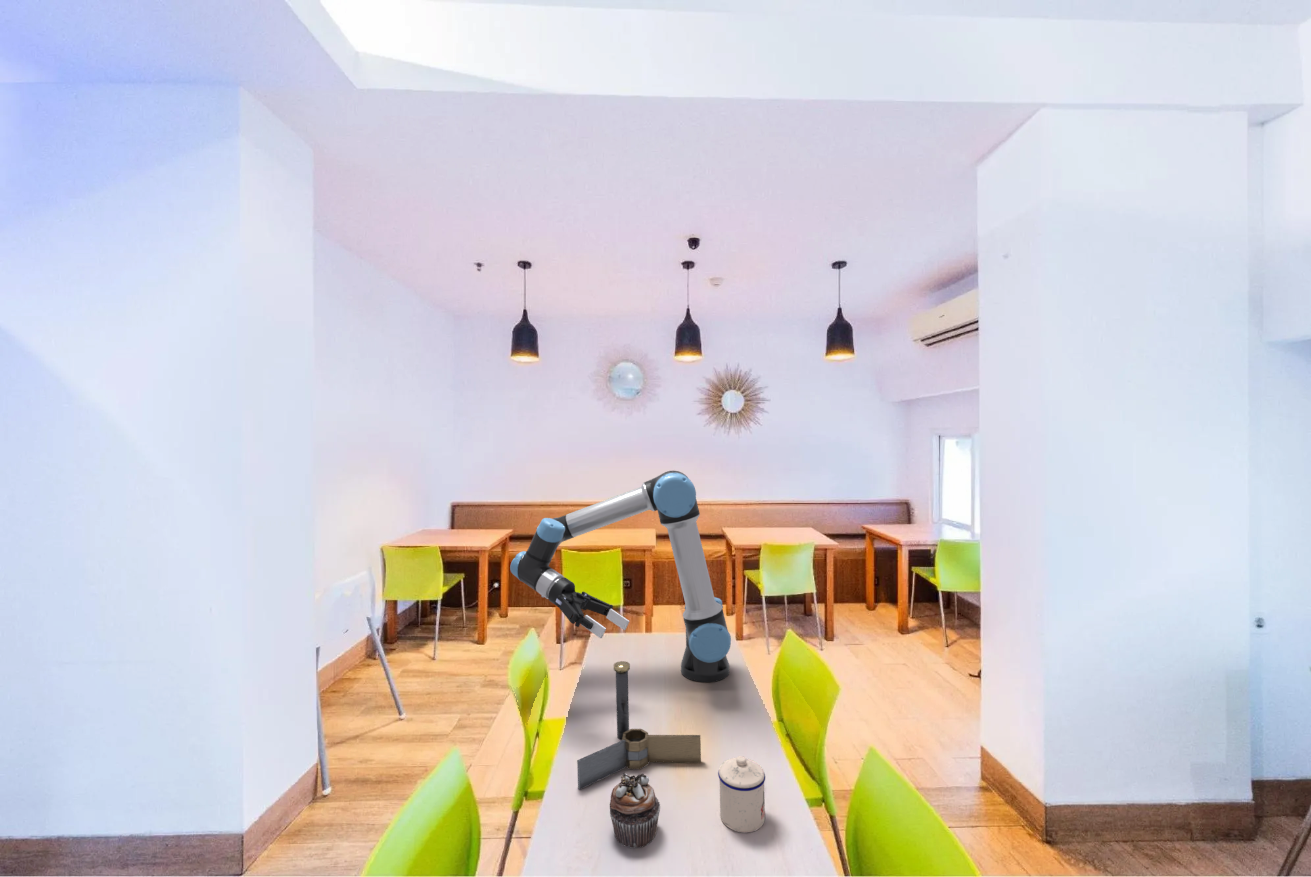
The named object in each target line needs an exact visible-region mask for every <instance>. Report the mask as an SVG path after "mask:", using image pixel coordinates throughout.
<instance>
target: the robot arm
mask: <svg viewBox="0 0 1311 877" xmlns="http://www.w3.org/2000/svg"><path fill="white" fill-rule="evenodd" d="M695 487H696V486H695V485H694V483H693V482H692V481H691V479H690V478H689V477H688V476H687V475H686V474H684V473H683V472H681V471H679V470H669V471H665V472H663V473H661V474H660V475H657V476H656V477H654V478H651V479H649V480H646V481H644V482H642V484H641V486H639V487H637V488H634V489H632V490H629V491H627V492H623V493H621V494H619V495H616V496H613V497H610V498H608V499H604V500H601V501H598V502H597V503H594V504H591V505H588V506H586V507H583V508H580V509H577V510H574V511H572V512H570V513H567V514H565V515H561V516H560V517H553V518H550V517H544V518H541V521H540V523H539V525H538V526H537V528H536V530H535V533H534V535H533V537H532V539H531V542H530V543H529V546H528V548H527V550H526V551H524V550H522V551H519V553H516V555H515V557H514V558H513V559H512V561H511V563H510V567H509V568H510V570H509V571H510V573H511V574H512V575H513V576H514V577H516V579H518V580H519V581H520V582H522V583H524V584H525V585H527V586H528V587H529V588H531V589H532V590H533V591H535V592H537V593H538V594H539V595H541V598H545V599H547V600H548V601H549V602H550V603H552V604H553V605H555V606H556V607H557V608H559V610H560V611H561V612H562V613H563V615H564V616H565V618H566V619H567V620H568V621H569V622H570V623H571V624H572V625H574V626H575V627H576V628H577V627H578V628H579V627H580V625H581V626H582V627H584V628H585V629H586V630H588V631H589V632H591V633H592V634H593V635H595V636H596V637H598V638H599V639H603V637H604V634H605V633H606V630H607V628H606V627H605V626H603V625H602V624H601V623H599V622H598V621H596V620H595V619H593V618H592V617H591V616H589V615H588V614H586V615H585V614H584V612H583V611H586V610H588V611H591V612H594V613H597V614H600V615H602V616H604V617H605V618H606V619H608V621H610V622H611V623H613V624H614V625H616V626H617V627H619V628H620V629H622V630H623V631H626V629H627V628H628V626H629V624H630V620H629V619H627V618H626V617H624V616H623V615H621V614H620V613H618V612H617V611H616V610H614V605H613V604H610V603H607V601H606V602H605V601H603V600H601V599H599V598H597V597H594V596H592V595H590V594H589V593H587V592H585V591H582V592H577V591H576V585H575V583H574V582H573V581H571V580H570V579H568V578H567V577H565V576H564V575H563V574H561V573H559V572H558V571H556V570H555V569H553V568H552V567H551V566H549V565H550V563H551V562H552V559H553V558H554V555H555V553H556V551H557V549H558V547H559V546H560V545H561V544H562V543H564V542H566V541H568V540H569V541H570V540H571V539H574V538H576V537H578V536H581V535H584V534H587V533H590V532H592V531H595V530H598V529H600V528H603V527H606V526H608V525H611V524H615V523H617V522H619V521H622V520H625V519H629V518H631V517H634V516H636V515H639V514H642V513H644V512H647V511H652V512H656V511H657V513H658V514H657V515H658V518H659V522H660V525H662V526H663V527H664V528H666V529H667V533H668V537H669V541H670V546H671V550H672V554H673V558H674V562H675V567H676V572H677V574H678V575H677V576H678V579H679V583H680V587H681V591H682V594H683V600H684V603H685V605H684V611H683V613H682V617H683V622H684V627H685V648H684V652H683V655H682V659H681V662H680V673H681V675H683V677H684V678H687V679H688V680H691V681H693V682H694V681H695V682H701V683H711V682H712V683H713V682H717V681H721V680H723V679H726V678H727V677H728V676H729V675H730V663H729V660H728V658H727V654H729V651H730V649H731V644H732V643H731V641H732V637H731V633H730V632H729V630H728V626H727V623H726V622H727V621H726V617H725V613H724V610H723V609H724V606H723V600H722V599H721V598H720V597H715V595H714V590H713V586H712V581H711V578H710V573H709V570H708V565H707V561H706V557H705V552H704V548H703V544H702V540H701V536H700V532H699V528H698V524H697V523H698V522H697V520H698V519H699V517H700V515H701V514H700V508H699V505H698V501H697V491H696V488H695Z"/></svg>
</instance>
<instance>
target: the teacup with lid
mask: <svg viewBox="0 0 1311 877" xmlns="http://www.w3.org/2000/svg"><path fill="white" fill-rule="evenodd" d="M717 776H718V778H719V816H720V820H722V823H723V824H724V825H725V826H726V827H728V828H729V829H730V830H733V831H734V832H739V833H752V832H755V831H756V832H757V830H759V829H760V828H762V826H763V825H764V823H765V819H766V813H765V812H766V808H765V782H766V774H765V770H764V768H762V766H761V764H759V763H758V762H756V761H754V760H752V759H749V758H747V757H745V756H743V755H738V756H737V757H732V758H728V759H727V760H725V761H723V762H722V763H721V764H720V766H719V768H718V772H717Z"/></svg>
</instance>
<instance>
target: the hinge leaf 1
mask: <svg viewBox="0 0 1311 877" xmlns="http://www.w3.org/2000/svg"><path fill="white" fill-rule="evenodd" d="M641 740H643V739H641V738H632V739H630V740H629V741H630V742H639V741H641ZM647 756H648V747H647V748H645V749H643V750H642V751H640V752H635V751H628V750H626V741H625V739H624V740H620V741H617V742H615V743H613V744H611V745H609V746H605V747H604V748H602V749H600V750H597V751H595V752H593V753H591V754H588V755H586V756H584V757H581V758H580V759H577V762H576V763H577V768H576V769H577V788H578V789H579V790H582V789H584V788H586V787H588V786H590V785H592V784H594V783H596V782H598V781H600V780H602V779H605V778H606V777H609V776H611V775H613V774H615V773H617V772H620V771H622V770H623V769H625V768H626V769H627V762H626V759H628V760H637V761H639V760H641V759H643V758H645V757H647ZM581 788H582V789H581Z"/></svg>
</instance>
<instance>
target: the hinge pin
mask: <svg viewBox="0 0 1311 877" xmlns="http://www.w3.org/2000/svg"><path fill="white" fill-rule="evenodd" d="M630 667H631V664H630V663H629V662H628V661H622V660H621V661H617V662H614V663H613V671H614V672H615V694H616V695H615V696H616V698H615V699H616V700H615V701H616V734H617V735H616V738H617V739H618V740H620V741H622V737H623V733H624V732H626V731H628V730H630V709H629V705H630V704H629V701H630V700H629V670H630V669H631V668H630Z"/></svg>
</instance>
